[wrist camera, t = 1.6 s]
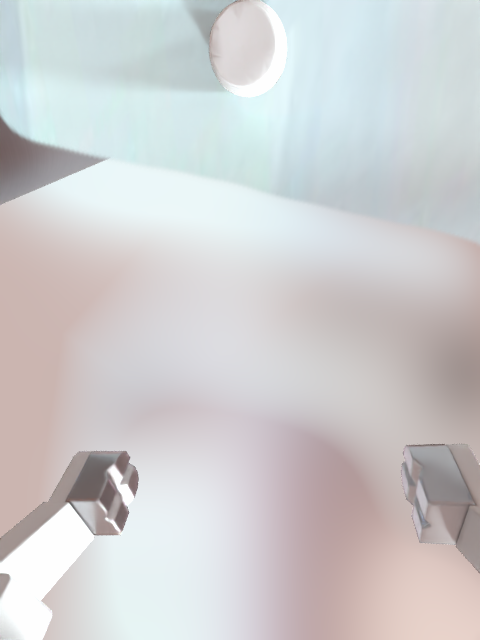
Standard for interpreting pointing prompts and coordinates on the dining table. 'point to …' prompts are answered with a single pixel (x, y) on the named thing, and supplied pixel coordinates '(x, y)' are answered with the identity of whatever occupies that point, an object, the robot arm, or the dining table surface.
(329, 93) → the dining table surface
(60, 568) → the robot arm
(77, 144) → the dining table surface
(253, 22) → the pill bottle
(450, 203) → the dining table surface
